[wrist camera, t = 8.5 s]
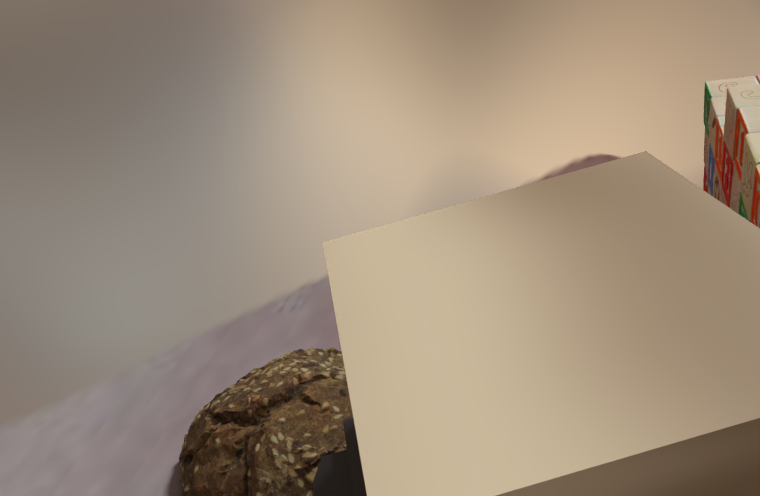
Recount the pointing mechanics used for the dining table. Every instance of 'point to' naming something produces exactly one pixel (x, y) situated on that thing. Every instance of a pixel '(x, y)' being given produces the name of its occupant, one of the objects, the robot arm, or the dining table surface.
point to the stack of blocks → (733, 144)
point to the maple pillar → (557, 341)
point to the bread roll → (269, 429)
